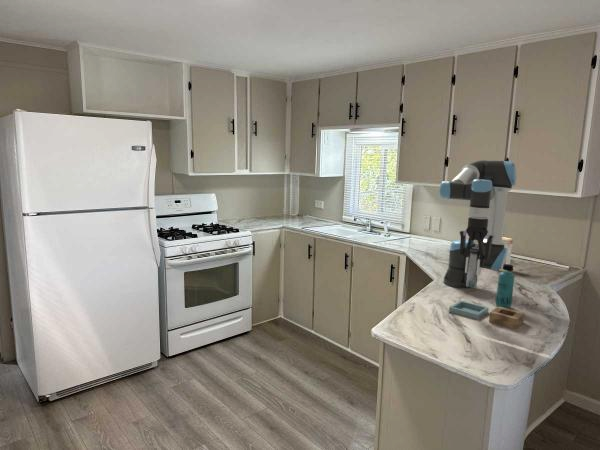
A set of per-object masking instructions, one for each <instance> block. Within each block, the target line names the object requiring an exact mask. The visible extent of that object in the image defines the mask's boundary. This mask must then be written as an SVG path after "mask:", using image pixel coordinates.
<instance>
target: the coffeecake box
mask: <svg viewBox="0 0 600 450" xmlns="http://www.w3.org/2000/svg"><path fill="white" fill-rule="evenodd" d="M502 242H503V243H504V244H505V245H504V248H507V254H506V258H505V261H504V264H509V265H511V258H512V250H513V242H514V238H510V237H505V236H502ZM504 264H503V265H504ZM498 271H499V272H502V271H508V270H504V269H503V267H502V268H501V269H500V270H498ZM508 272H509V271H508Z"/></svg>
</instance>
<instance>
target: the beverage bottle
mask: <svg viewBox="0 0 600 450" xmlns="http://www.w3.org/2000/svg"><path fill="white" fill-rule="evenodd" d="M503 269H504V270H508V271H500V272H499V274H498V281H497V287H496V288H497V289H496V295H495V305H496V307H498V306H499V307H503V308H507V309H509V308H510V307H511V306H512V303H513V293H514V285H515V277H516V276H515V274H514V273H513V272H512V271H514V265H513V264H510V265H509V264H504V265H503Z"/></svg>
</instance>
